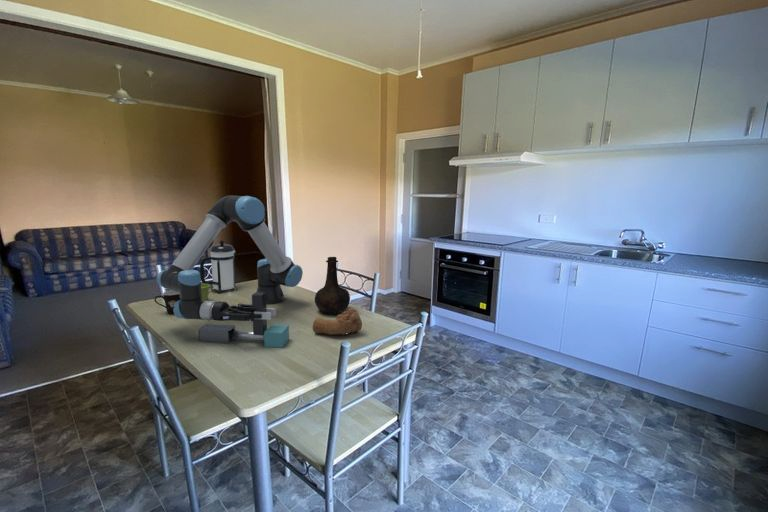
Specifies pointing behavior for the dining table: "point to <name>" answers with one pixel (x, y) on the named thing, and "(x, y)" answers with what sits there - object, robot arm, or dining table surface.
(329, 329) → the clay pipe
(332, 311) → the glass bottle
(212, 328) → the outer sleeve
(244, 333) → the dark lever handle
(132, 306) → the dining table surface
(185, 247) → the robot arm
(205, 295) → the plant pot
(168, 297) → the coffee mug
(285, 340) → the socket block
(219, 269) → the coffee press
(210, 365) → the dining table surface
